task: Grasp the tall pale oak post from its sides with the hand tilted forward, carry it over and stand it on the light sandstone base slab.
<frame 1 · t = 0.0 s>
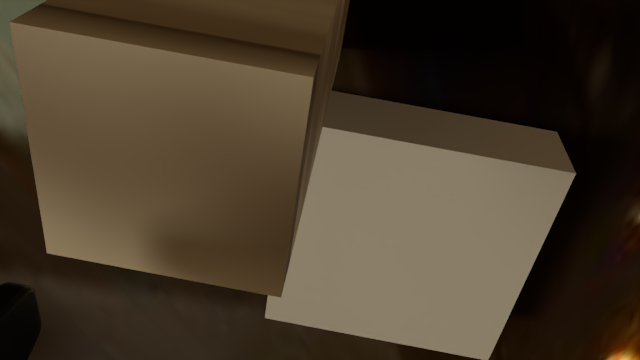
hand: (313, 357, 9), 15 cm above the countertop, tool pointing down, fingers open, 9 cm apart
base slab: (401, 209, 25), on the countertop
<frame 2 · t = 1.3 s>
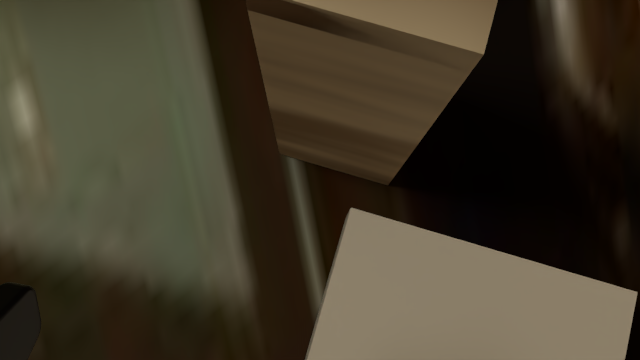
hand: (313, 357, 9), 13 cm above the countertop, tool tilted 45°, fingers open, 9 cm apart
oak post: (349, 117, 24), on the countertop
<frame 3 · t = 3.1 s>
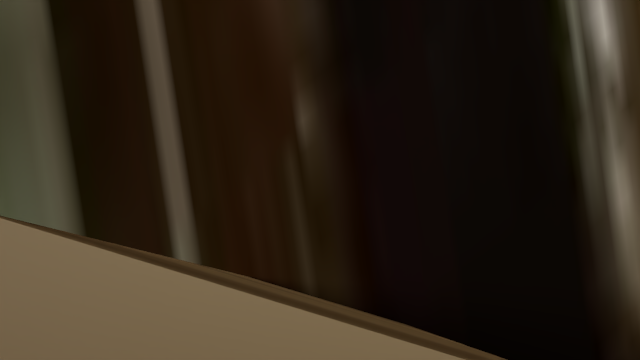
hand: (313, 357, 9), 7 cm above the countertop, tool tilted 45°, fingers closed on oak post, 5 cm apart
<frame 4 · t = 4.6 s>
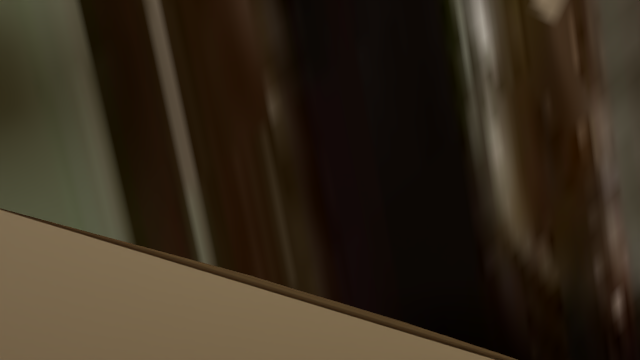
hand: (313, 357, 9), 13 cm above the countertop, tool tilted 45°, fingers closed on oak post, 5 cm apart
when the fingers open (10 cm above the countertop, at t = 6.2 s): oak post stays where it is, resting on base slab.
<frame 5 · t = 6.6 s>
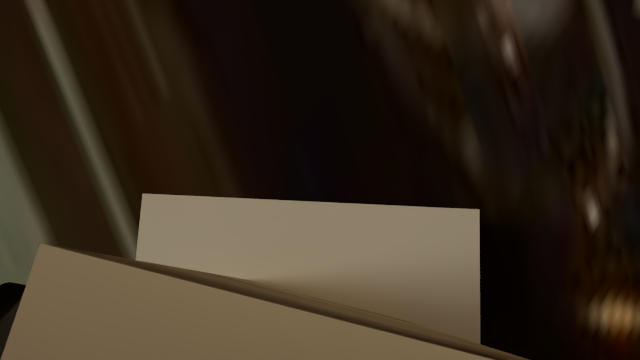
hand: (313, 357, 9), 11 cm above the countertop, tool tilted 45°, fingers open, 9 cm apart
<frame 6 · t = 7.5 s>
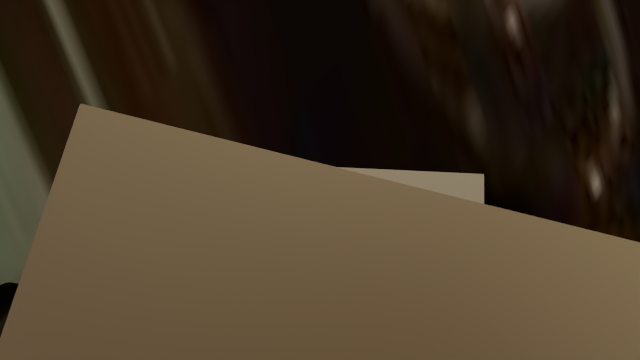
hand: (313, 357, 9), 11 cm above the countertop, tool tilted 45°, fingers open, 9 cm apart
oak post: (309, 338, 17), point 3 cm above the countertop, touching base slab
base slab: (310, 330, 19), on the countertop
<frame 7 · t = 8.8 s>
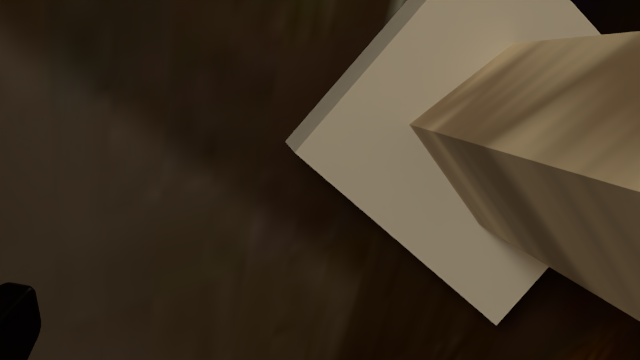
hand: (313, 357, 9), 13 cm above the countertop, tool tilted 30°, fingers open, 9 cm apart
oak post: (496, 136, 20), point 3 cm above the countertop, touching base slab
base slab: (462, 127, 23), on the countertop
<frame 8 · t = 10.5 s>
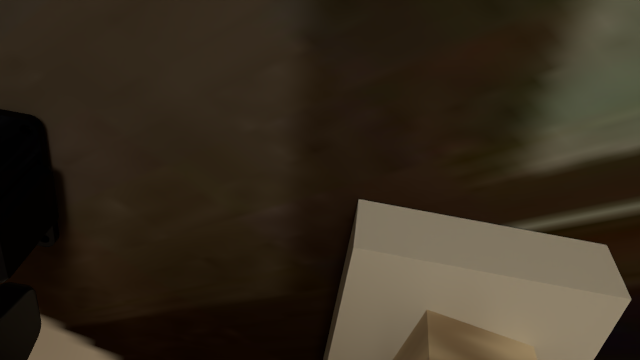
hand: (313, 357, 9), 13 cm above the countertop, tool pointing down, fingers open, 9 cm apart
base slab: (449, 308, 26), on the countertop
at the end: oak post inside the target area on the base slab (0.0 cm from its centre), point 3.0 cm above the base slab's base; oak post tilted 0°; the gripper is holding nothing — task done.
